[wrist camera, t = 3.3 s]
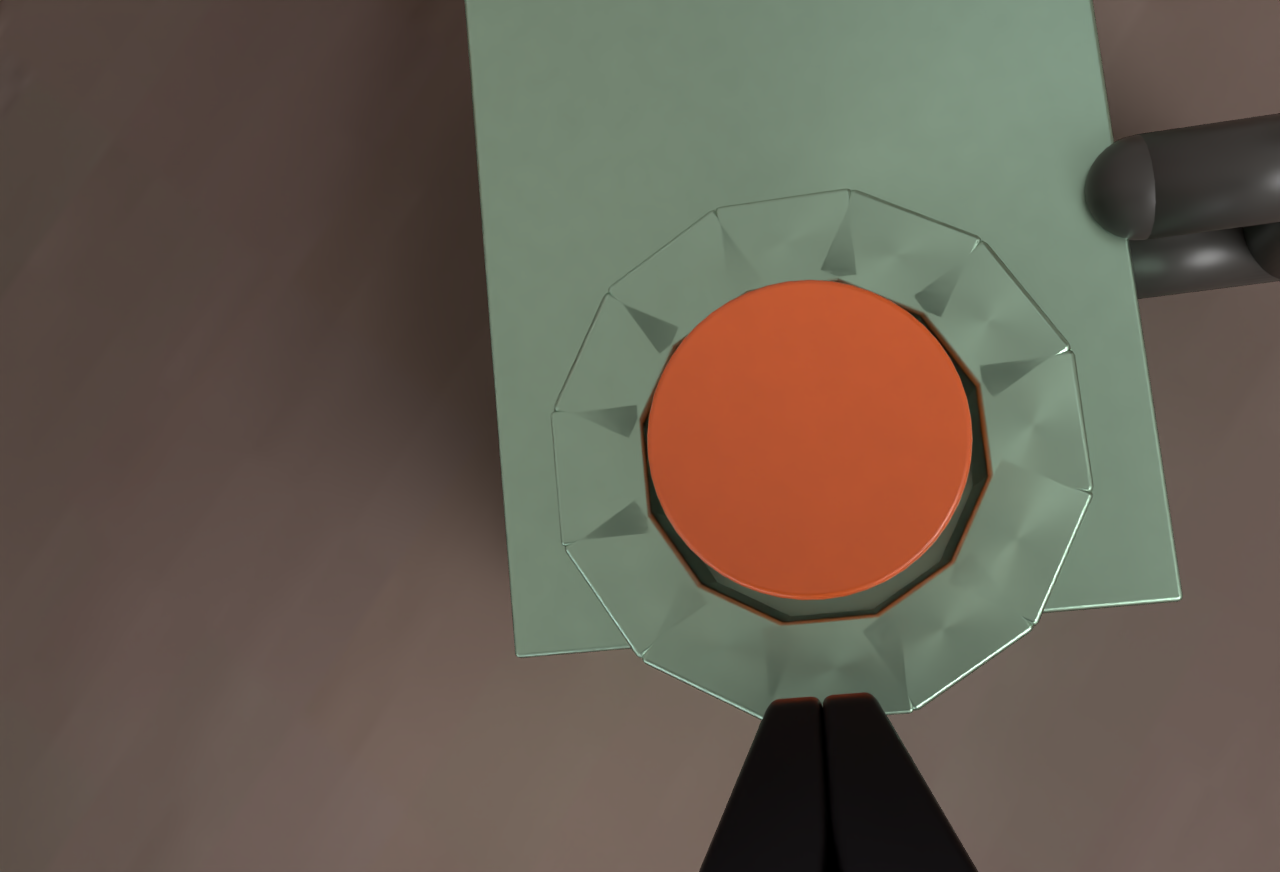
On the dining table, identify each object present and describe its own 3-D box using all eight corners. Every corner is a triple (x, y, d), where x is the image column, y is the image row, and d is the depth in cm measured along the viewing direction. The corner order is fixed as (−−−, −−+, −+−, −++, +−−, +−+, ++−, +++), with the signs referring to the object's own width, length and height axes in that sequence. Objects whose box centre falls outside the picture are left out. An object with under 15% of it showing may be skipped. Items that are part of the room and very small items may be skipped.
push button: (976, 582, 14) (993, 584, 13) (684, 609, 15) (661, 614, 13) (939, 295, 15) (951, 257, 13) (658, 332, 15) (632, 300, 14)
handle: (1312, 284, 20) (1479, 179, 14) (1039, 318, 20) (1103, 230, 15) (1298, 204, 20) (1458, 71, 15) (1028, 240, 21) (1088, 126, 15)
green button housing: (1104, 647, 21) (1241, 689, 13) (603, 688, 22) (480, 745, 15) (1013, 6, 22) (1091, -272, 15) (550, 83, 24) (415, -134, 16)
